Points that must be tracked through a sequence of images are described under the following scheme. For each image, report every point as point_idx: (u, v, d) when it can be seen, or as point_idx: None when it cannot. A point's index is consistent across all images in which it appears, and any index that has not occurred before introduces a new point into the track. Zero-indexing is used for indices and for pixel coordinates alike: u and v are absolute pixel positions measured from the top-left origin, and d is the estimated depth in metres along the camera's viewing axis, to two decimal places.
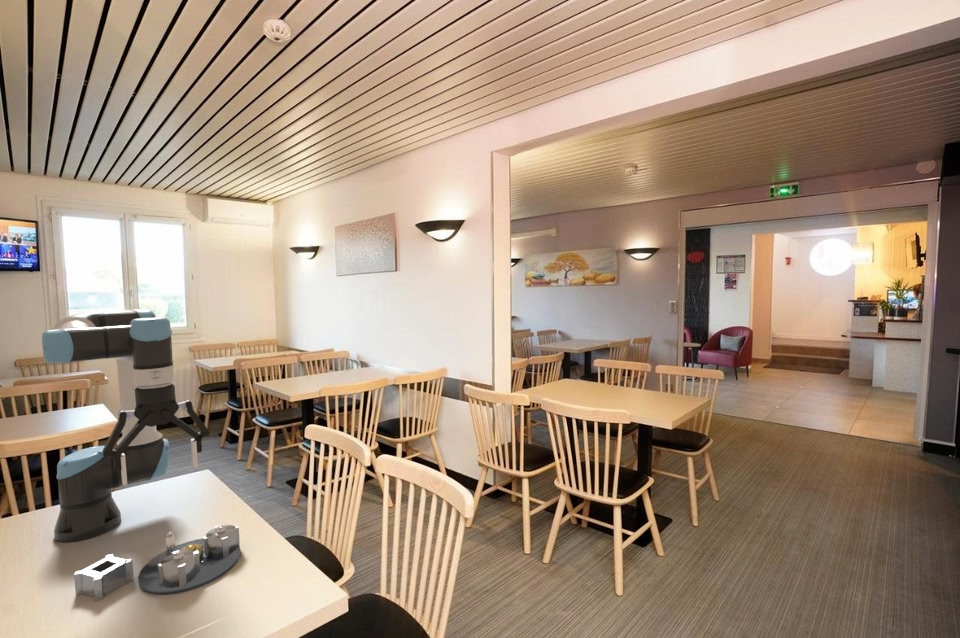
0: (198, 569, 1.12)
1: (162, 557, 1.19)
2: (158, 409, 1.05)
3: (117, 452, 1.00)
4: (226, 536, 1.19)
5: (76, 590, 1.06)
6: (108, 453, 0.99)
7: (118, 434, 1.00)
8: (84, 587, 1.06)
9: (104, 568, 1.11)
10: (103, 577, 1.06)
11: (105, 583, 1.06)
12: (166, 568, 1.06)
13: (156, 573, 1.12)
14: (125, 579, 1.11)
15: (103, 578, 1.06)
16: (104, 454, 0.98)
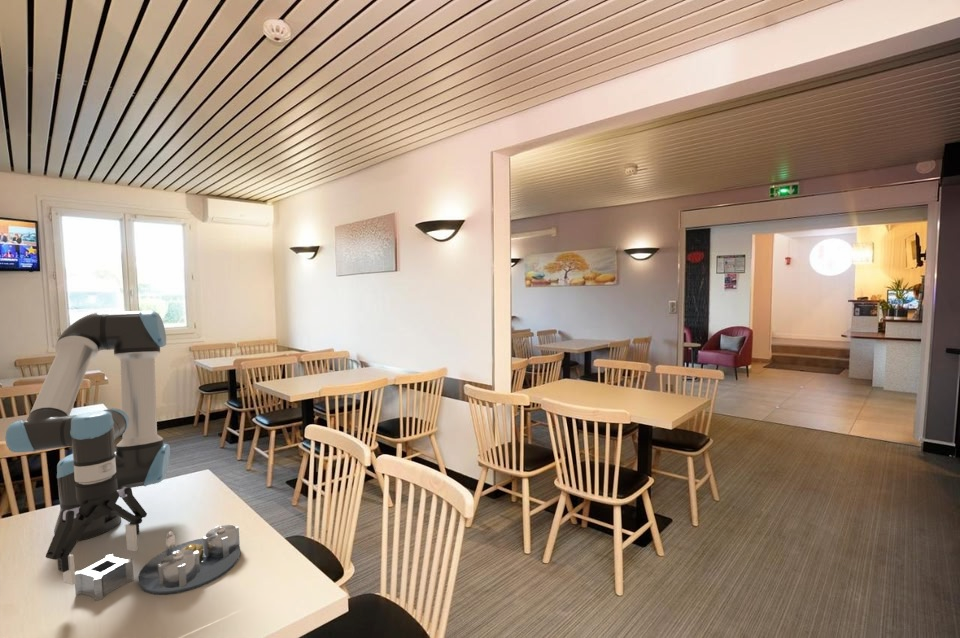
0: (198, 569, 1.12)
1: (162, 557, 1.19)
2: (102, 501, 1.07)
3: (66, 552, 1.00)
4: (226, 536, 1.19)
5: (76, 590, 1.06)
6: (58, 555, 0.99)
7: (67, 534, 1.01)
8: (84, 587, 1.06)
9: (104, 568, 1.11)
10: (103, 577, 1.06)
11: (105, 583, 1.06)
12: (166, 568, 1.06)
13: (156, 573, 1.12)
14: (125, 579, 1.11)
15: (103, 578, 1.06)
16: (54, 557, 0.98)
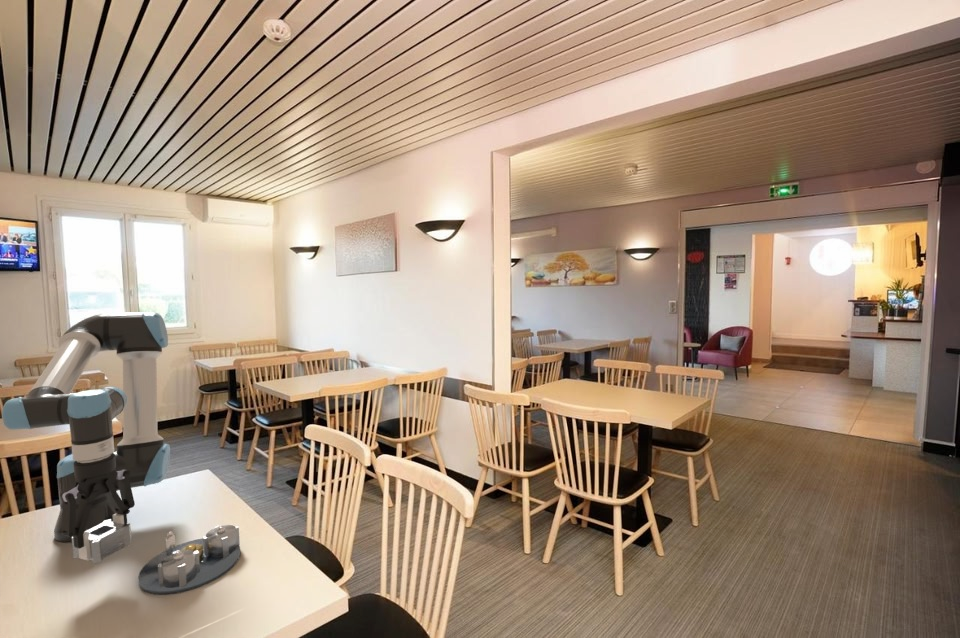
0: (198, 569, 1.12)
1: (162, 557, 1.19)
2: (101, 475, 1.07)
3: (80, 530, 1.03)
4: (226, 536, 1.19)
5: (74, 553, 1.06)
6: (73, 532, 1.02)
7: (74, 513, 1.02)
8: None
9: (102, 532, 1.11)
10: (101, 540, 1.05)
11: (103, 546, 1.06)
12: (166, 568, 1.06)
13: (156, 573, 1.12)
14: (124, 544, 1.10)
15: (101, 541, 1.06)
16: (70, 535, 1.02)
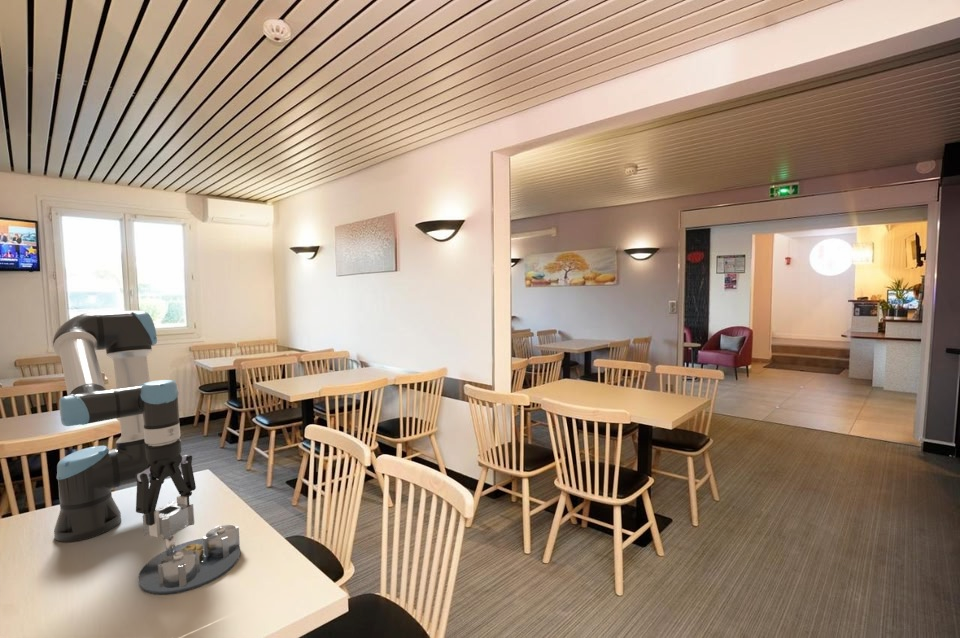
0: (198, 569, 1.12)
1: (162, 557, 1.19)
2: (169, 458, 1.17)
3: (152, 508, 1.13)
4: (226, 536, 1.19)
5: (144, 531, 1.15)
6: (146, 510, 1.11)
7: (147, 492, 1.12)
8: None
9: (168, 513, 1.20)
10: (170, 518, 1.15)
11: (171, 524, 1.15)
12: (166, 568, 1.06)
13: (156, 573, 1.12)
14: (188, 523, 1.20)
15: (170, 519, 1.15)
16: (144, 512, 1.11)
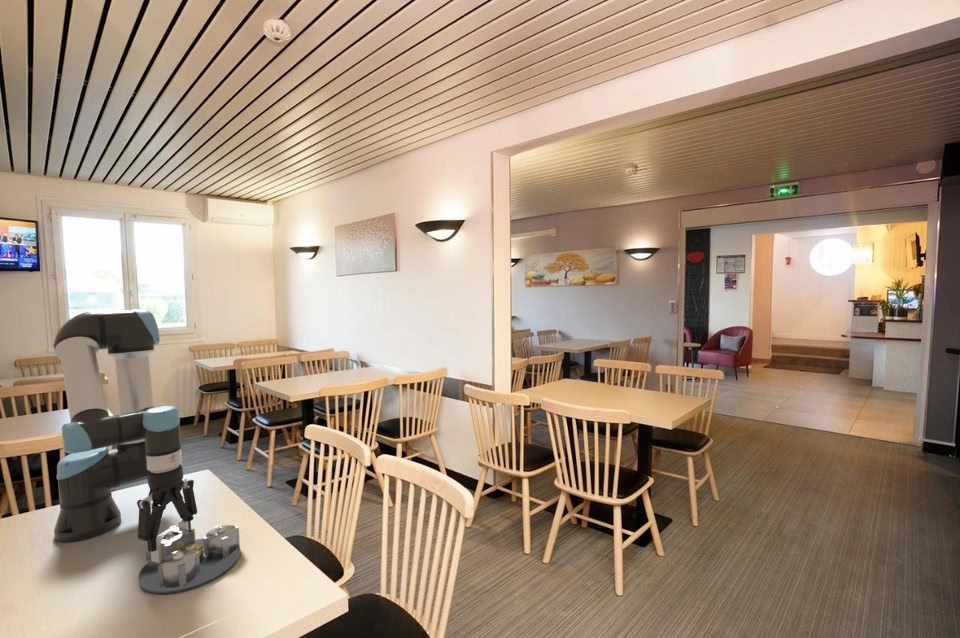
0: (198, 569, 1.12)
1: None
2: (171, 484, 1.18)
3: (154, 535, 1.13)
4: (226, 536, 1.19)
5: (146, 557, 1.16)
6: (148, 537, 1.12)
7: (149, 519, 1.12)
8: None
9: None
10: (171, 544, 1.15)
11: (173, 550, 1.16)
12: (166, 568, 1.06)
13: (156, 573, 1.12)
14: None
15: (172, 545, 1.15)
16: (146, 539, 1.12)
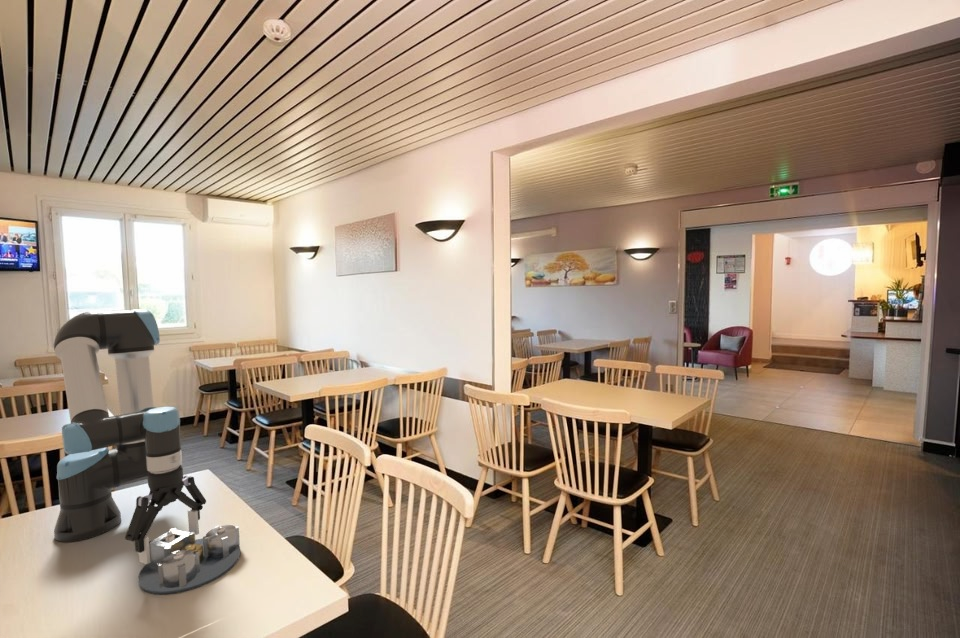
0: (198, 569, 1.12)
1: None
2: (170, 489, 1.18)
3: (142, 535, 1.11)
4: (226, 536, 1.19)
5: None
6: (136, 537, 1.09)
7: (143, 518, 1.11)
8: (154, 556, 1.16)
9: None
10: (171, 547, 1.15)
11: None
12: (166, 568, 1.06)
13: (156, 573, 1.12)
14: None
15: (172, 548, 1.16)
16: (133, 539, 1.09)
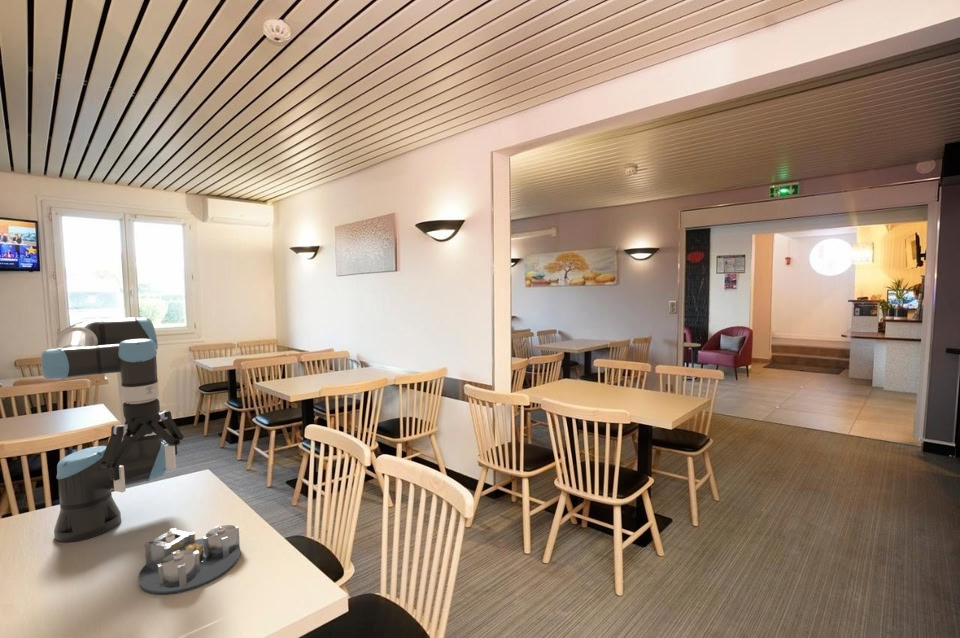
0: (198, 569, 1.12)
1: None
2: (146, 421, 1.17)
3: (117, 463, 1.10)
4: (226, 536, 1.19)
5: (146, 559, 1.16)
6: (111, 465, 1.09)
7: (118, 447, 1.10)
8: (154, 556, 1.16)
9: None
10: (171, 547, 1.15)
11: None
12: (166, 568, 1.06)
13: (156, 573, 1.12)
14: None
15: (172, 548, 1.16)
16: (108, 466, 1.08)
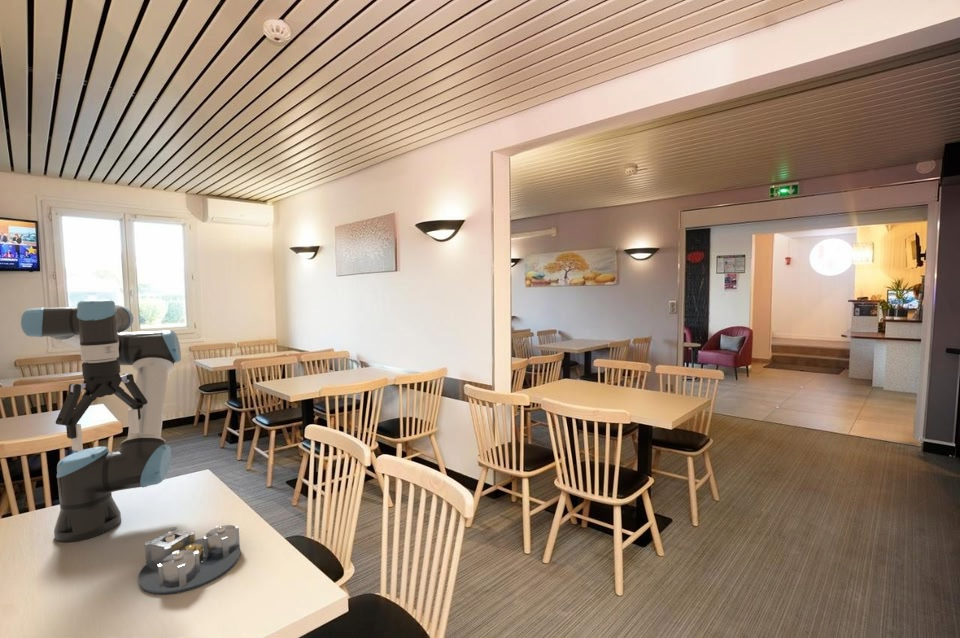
0: (198, 569, 1.12)
1: None
2: (106, 381, 1.17)
3: (74, 421, 1.10)
4: (226, 536, 1.19)
5: (146, 559, 1.16)
6: (66, 422, 1.09)
7: (74, 404, 1.10)
8: (154, 556, 1.16)
9: None
10: (171, 547, 1.15)
11: None
12: (166, 568, 1.06)
13: (156, 573, 1.12)
14: None
15: (172, 548, 1.16)
16: (63, 423, 1.08)
